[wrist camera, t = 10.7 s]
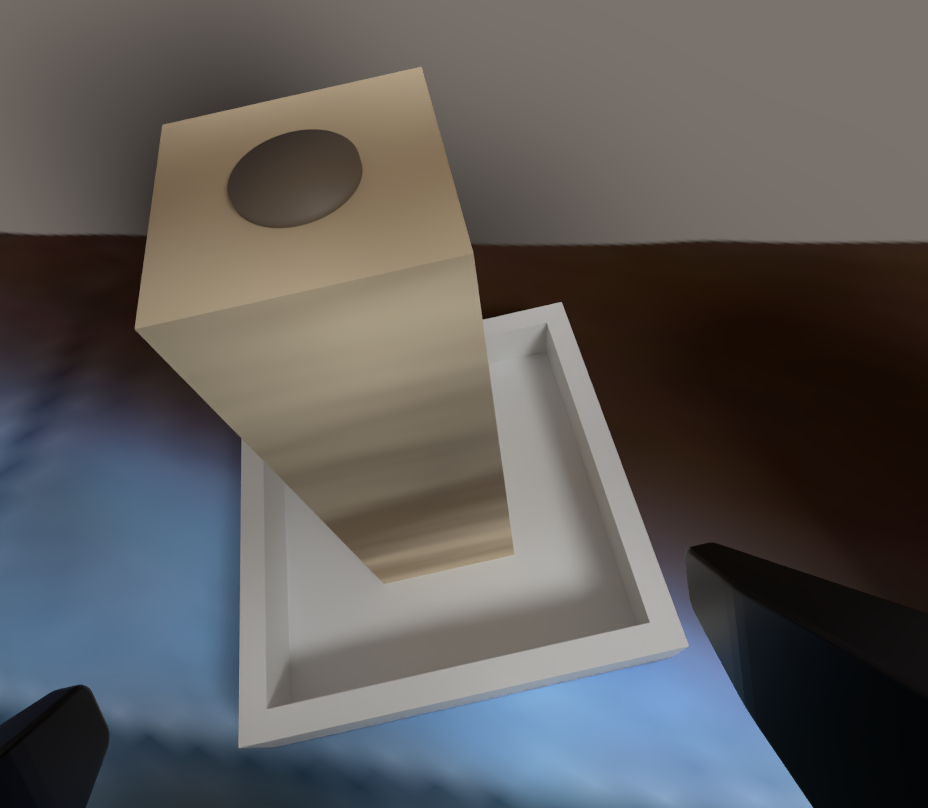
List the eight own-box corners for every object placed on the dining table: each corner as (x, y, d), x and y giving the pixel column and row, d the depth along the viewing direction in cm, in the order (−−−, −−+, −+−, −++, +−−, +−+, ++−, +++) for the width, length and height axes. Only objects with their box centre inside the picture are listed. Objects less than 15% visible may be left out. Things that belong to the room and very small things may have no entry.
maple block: (514, 554, 20) (471, 244, 7) (384, 583, 20) (127, 321, 7) (486, 439, 22) (419, 57, 10) (370, 465, 22) (157, 116, 10)
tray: (671, 657, 18) (689, 646, 16) (274, 747, 18) (238, 748, 16) (559, 340, 24) (561, 301, 22) (268, 406, 24) (242, 374, 22)
